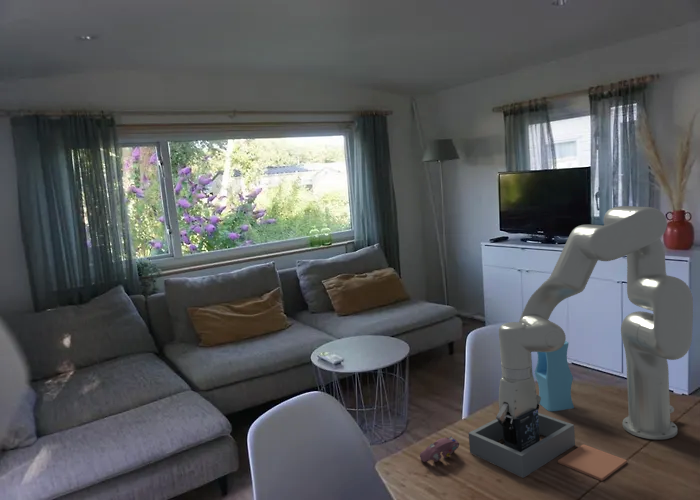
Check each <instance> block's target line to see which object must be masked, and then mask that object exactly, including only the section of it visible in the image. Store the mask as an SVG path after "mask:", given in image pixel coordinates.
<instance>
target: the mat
mask: <svg viewBox="0 0 700 500" xmlns="http://www.w3.org/2000/svg"><path fill="white" fill-rule="evenodd" d="M557 463H558V464H560V465H563V466H565V467H568V468H570V469H573V471H574V470H575V471H577V472H580V473H582V474H584V475H587V476H590V477H591V478H594V479H596V480H598V481H604V480H606V479H607V478H608V477H609V476H611V475H613V474H614V473H616V471H618V470H619V469H620V468H622V467H624V465H626V464H627V463H628V460H627V459H625V458H623V457H620V456H616V455H614V454H611V453H609V452H606V451H603V450H601V449H597V448H595V447H593V446H590V445H587V444H584V443H583V444H581V445H579V446H578V447H577V448H575V449H573V450H572V451H570V452H568V453H567V454H566V455H564V456H563V457H561V458H560V459H558V460H557Z"/></svg>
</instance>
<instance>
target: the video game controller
mask: <svg viewBox="0 0 700 500" xmlns="http://www.w3.org/2000/svg"><path fill="white" fill-rule="evenodd" d="M459 446H460V442H459V441H458V440H457V439H455V438H454V437H452V435H451V436H449V437H442V438H438V439H437V440H436V441H435V442H433V443H431V444H430V445H428V446H426V448H425V449H424V450H422V451H421V452H420V453H419V459H420V460H421V461H422V462H424V463H426V462H429V461H433V462H434V463H437V462H439V461H440V460H441V459H442V456H443V458H445V459H447V458H449V457H450V456H451V455H452V453H454V452H455V451H456V450H457V449H458V448H459Z"/></svg>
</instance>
